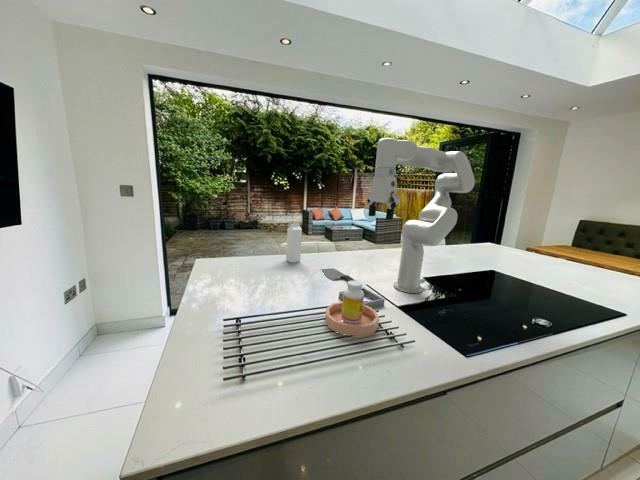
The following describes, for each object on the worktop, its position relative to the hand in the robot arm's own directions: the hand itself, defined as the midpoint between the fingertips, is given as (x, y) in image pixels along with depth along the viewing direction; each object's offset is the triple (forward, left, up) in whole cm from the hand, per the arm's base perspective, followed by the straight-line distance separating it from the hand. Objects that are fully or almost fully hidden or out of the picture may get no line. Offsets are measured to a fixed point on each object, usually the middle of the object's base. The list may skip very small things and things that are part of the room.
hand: (380, 217), depth 106 cm
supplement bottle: (+22, +14, -32) cm, 41 cm away
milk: (+10, -56, -33) cm, 66 cm away
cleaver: (+1, -22, -34) cm, 40 cm away
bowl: (+22, +15, -33) cm, 42 cm away
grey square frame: (+8, +3, -33) cm, 34 cm away
